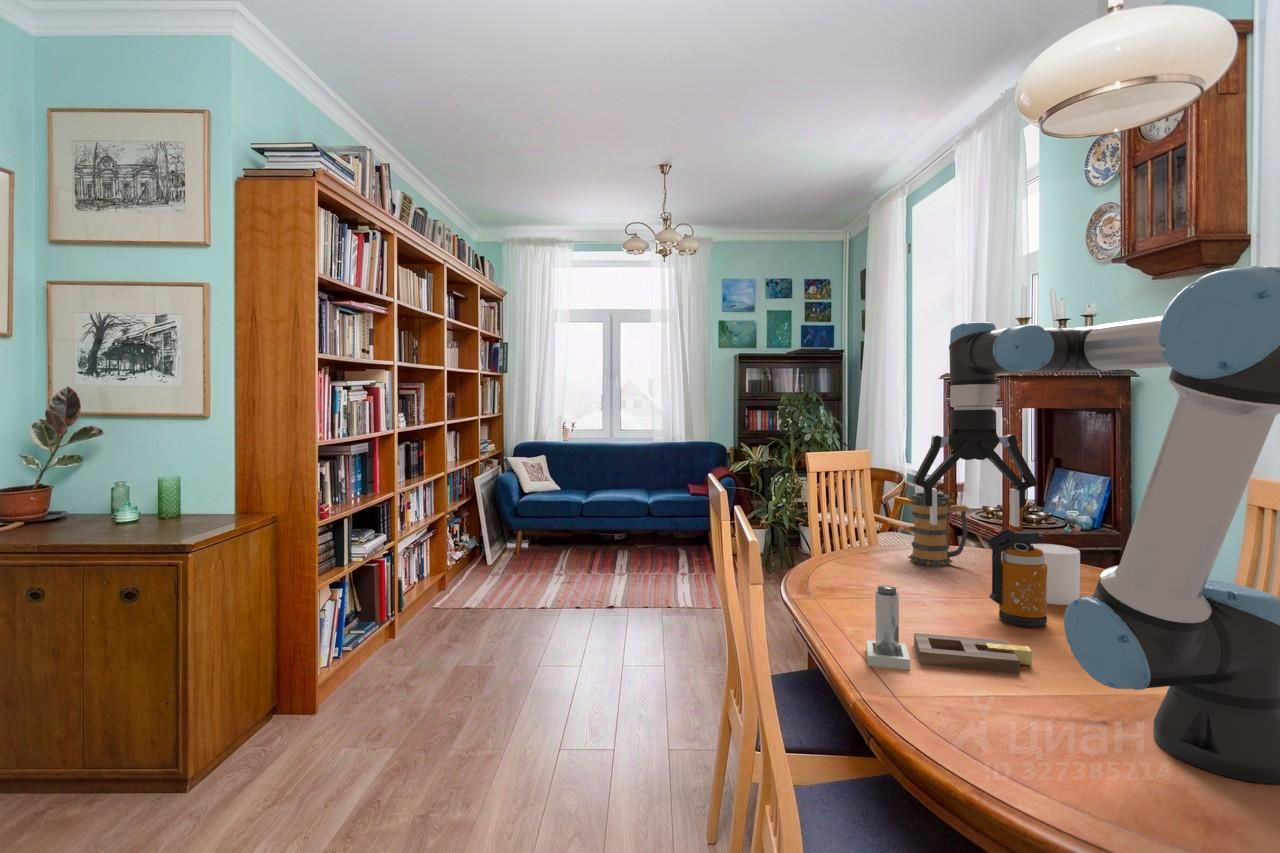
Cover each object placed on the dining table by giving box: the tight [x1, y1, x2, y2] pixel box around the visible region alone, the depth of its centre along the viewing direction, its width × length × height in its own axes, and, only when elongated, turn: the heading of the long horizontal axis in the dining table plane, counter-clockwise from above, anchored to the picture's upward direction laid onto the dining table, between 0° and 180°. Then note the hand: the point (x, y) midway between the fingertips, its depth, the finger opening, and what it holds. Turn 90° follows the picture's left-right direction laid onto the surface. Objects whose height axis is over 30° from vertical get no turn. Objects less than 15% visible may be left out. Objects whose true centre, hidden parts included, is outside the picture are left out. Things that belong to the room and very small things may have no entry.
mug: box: [906, 492, 972, 568], centre depth 194 cm, size 13×17×20 cm
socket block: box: [913, 632, 1021, 675], centre depth 122 cm, size 10×16×3 cm, turn 73°
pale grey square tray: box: [866, 639, 911, 671], centre depth 122 cm, size 8×7×2 cm
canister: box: [988, 528, 1048, 628], centre depth 143 cm, size 9×11×20 cm
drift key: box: [985, 643, 1033, 666], centre depth 120 cm, size 2×7×2 cm, turn 74°
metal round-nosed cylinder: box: [874, 584, 900, 657], centre depth 122 cm, size 4×4×13 cm
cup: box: [1031, 543, 1081, 606], centre depth 160 cm, size 12×12×12 cm
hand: (973, 525), depth 121 cm, fingers open, 13 cm apart
